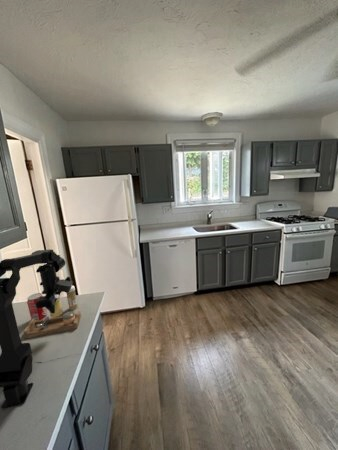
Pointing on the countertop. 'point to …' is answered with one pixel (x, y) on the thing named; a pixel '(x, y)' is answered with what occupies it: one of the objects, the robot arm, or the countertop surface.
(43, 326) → the pusher
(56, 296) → the mustard jar
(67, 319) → the spice jar
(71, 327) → the wooden tray
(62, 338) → the countertop surface
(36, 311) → the soda can
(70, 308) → the sprinkles bottle
